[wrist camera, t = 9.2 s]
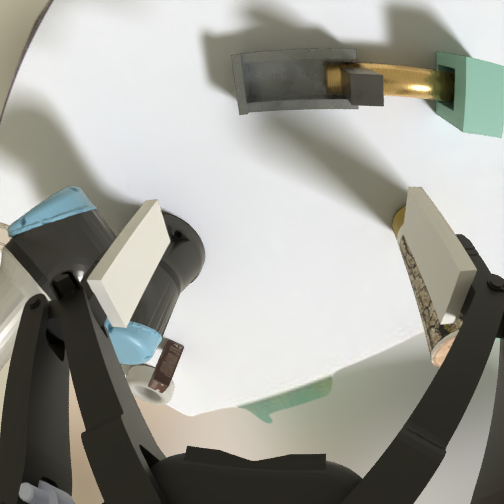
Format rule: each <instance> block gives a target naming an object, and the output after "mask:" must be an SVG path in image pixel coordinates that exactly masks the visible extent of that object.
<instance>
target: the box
mask: <svg viewBox="0 0 504 504" xmlns="http://www.w3.org/2000/svg"><path fill="white" fill-rule="evenodd" d="M183 349H184V346H182V345H180V344H178V343H176V342H174V341H171V340H169V341H168V343H167V344H166V346H165V347H164V349H163V351H162V353H161V355H160V358H159V360H158V363H157V365H156V367H155V370H154V372H153V374H152V377H151V379H150V382H149V384H148V387H150V388H152V389H154V390H156V391H158V392H160V393H163V392H164V391H166V389H167V388H168V387H169V385H170V382H171V380H172V377H173V375H174V372H175V369H176V367H177V364H178V362H179V359H180V357H181V354H182V351H183Z"/></svg>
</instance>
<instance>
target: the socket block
mask: <svg viewBox="0 0 504 504" xmlns="http://www.w3.org/2000/svg"><path fill="white" fill-rule="evenodd" d="M436 63H437V70H440V71H446V72H452V73H455V96H454V102H447V101H439V100H436V112H435V114H437V115H439V116H440V117H442V118H443V119H445V120H446V121H448V122H449V123H450V124H452V125H453V126H455V127H456V128H458V129H459V130H460V131H462V132H465V133H472V134H479V135H486V136H492V137H498V138H502V133H503V125H504V66H502V65H498V64H495V63H491V62H487V61H483V60H479V59H475V58H470V57H466V56H461V55H455V54H449V53H443V52H436Z"/></svg>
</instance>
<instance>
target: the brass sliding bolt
mask: <svg viewBox="0 0 504 504" xmlns="http://www.w3.org/2000/svg"><path fill="white" fill-rule="evenodd" d="M325 78H326V88H327V94H343V95H344V96H345V97H346V98H347V100H348V101H349V102H350V104H351V105H363V106H384V95H387V96H401V97H412V98H422V99H431V100H439V101H447V102H454V96H455V73H452V72H446V71H440V70H433V69H426V68H418V67H409V66H400V65H388V64H374V63H351V62H325Z"/></svg>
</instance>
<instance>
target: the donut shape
mask: <svg viewBox="0 0 504 504" xmlns="http://www.w3.org/2000/svg"><path fill="white" fill-rule="evenodd" d="M154 370H155V368H153V367H150V366H146V365H134V366H132V367H131V368H130V369H129V371H128V374H127V376H126V380H127V382H128V385H129V387H130V389H131V392H132V394H133V395H135V396H136V397H137V398H139V399H141V400H143V401H146V402H149V403H153V404H166V403H168V402H169V401H170V400H171V397H172V394H173V391H174V388H175V386H174V382H173V381H172V380H171V382H170V385H169V387H168V388H167V389H166V391H164V392H163V393H160V392H158V391H156V390H154V389H152V388H150V387H148V384H149V382H150V379H151V377H152V374H153V372H154Z"/></svg>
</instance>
